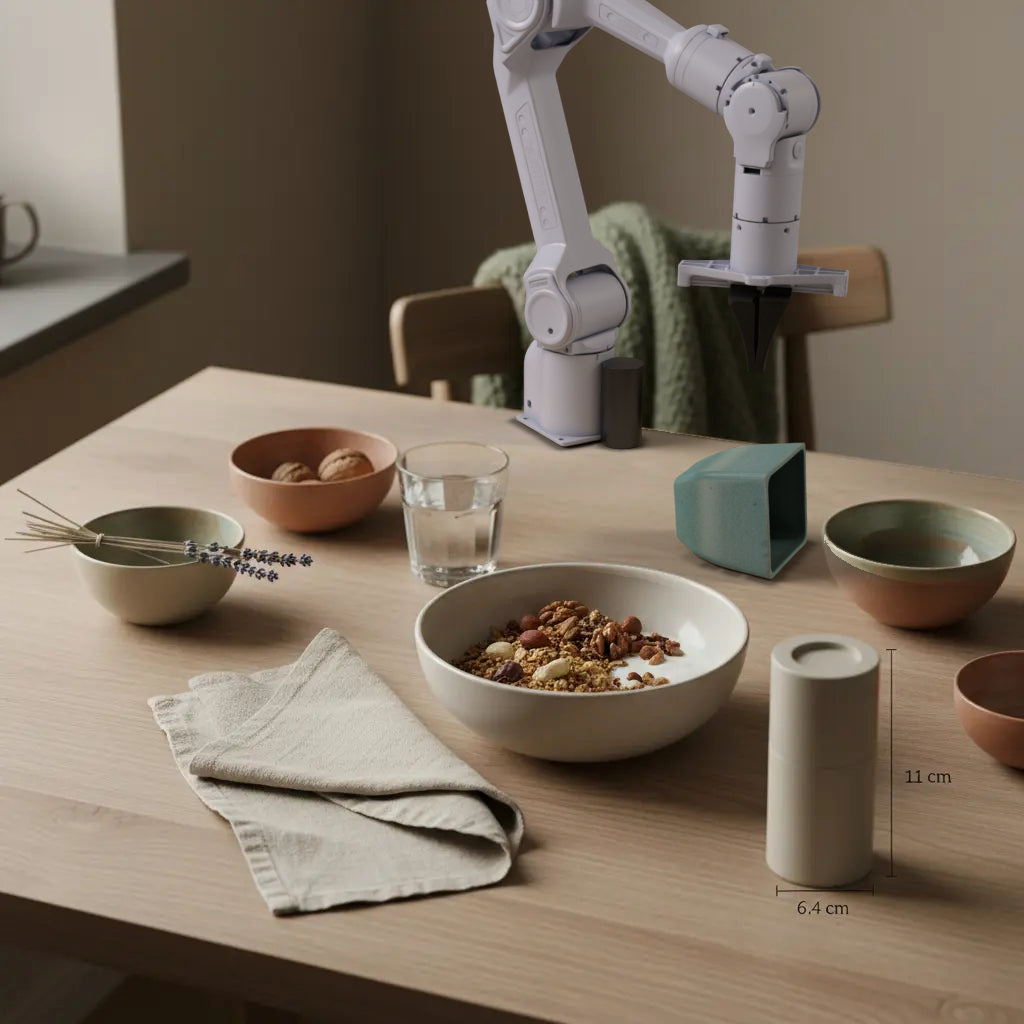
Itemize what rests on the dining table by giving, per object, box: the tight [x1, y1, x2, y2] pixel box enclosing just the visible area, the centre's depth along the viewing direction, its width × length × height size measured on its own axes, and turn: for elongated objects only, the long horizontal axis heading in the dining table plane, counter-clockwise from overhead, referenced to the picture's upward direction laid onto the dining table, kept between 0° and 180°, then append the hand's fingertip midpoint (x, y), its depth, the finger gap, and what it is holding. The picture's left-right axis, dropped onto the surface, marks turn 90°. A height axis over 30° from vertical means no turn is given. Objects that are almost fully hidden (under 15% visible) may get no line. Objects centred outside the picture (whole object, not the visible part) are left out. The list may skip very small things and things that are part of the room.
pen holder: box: [599, 356, 645, 450], centre depth 146 cm, size 4×4×8 cm
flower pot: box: [673, 442, 808, 580], centre depth 122 cm, size 9×9×9 cm
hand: (756, 369), depth 134 cm, fingers closed
